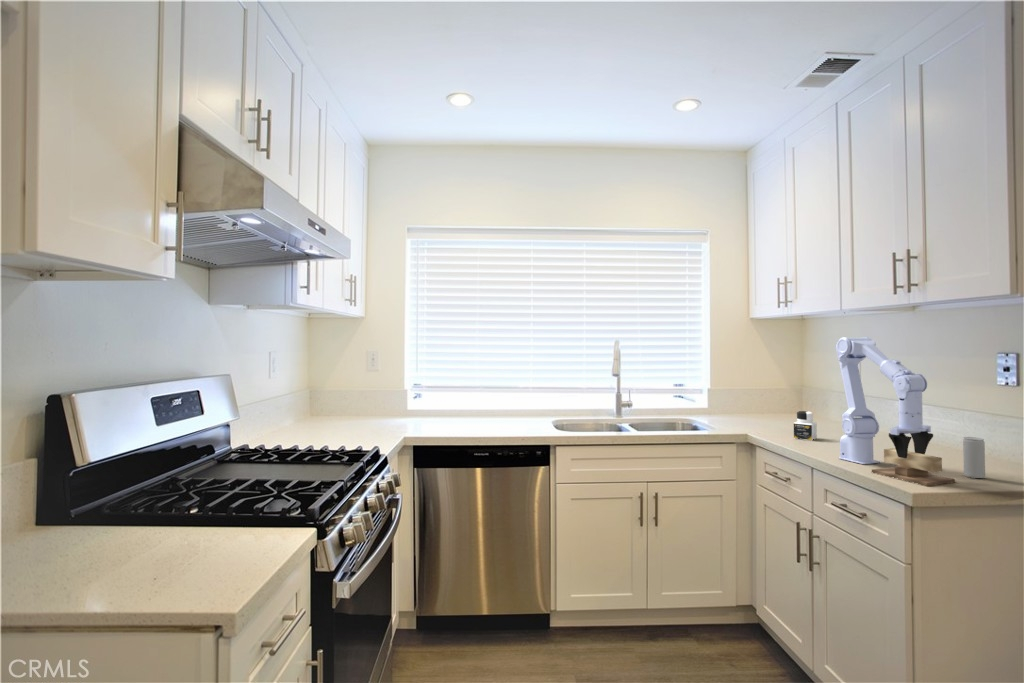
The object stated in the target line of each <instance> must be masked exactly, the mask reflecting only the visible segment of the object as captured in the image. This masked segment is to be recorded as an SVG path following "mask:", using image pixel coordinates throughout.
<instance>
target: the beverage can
mask: <svg viewBox="0 0 1024 683" xmlns="http://www.w3.org/2000/svg"><path fill="white" fill-rule="evenodd" d="M984 440H985V439H984V438H981V437H972V436H964V437H963V439H962V446H963V447H962V449H963V450H962V451H963V452H962V453H963V454H962V455H963V474H964V476H965V477H967V476H968V477H967V478H969V477H972V478H971V479H975V478H983V479H985V477H986V452H985V450H986V448H985V446H986V445H985V444H986V443H985V442H986V441H984Z"/></svg>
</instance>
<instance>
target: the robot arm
mask: <svg viewBox="0 0 1024 683" xmlns="http://www.w3.org/2000/svg"><path fill="white" fill-rule="evenodd" d="M876 345H877V344H876V341H874V340H873V339H872V338H871V337H869V336H864V337H862V336H861V337H846V336H843V337H840V338H839V340H838V341H837V343H836V345H835V350H836V356H837V359H838V363H839V368H840V373H841V378H842V384H843V388H844V393H845V398H846V404H847V408H848V409H846V411H845V412H843V413H842V415H841V417H842V422H841V429H842V431H843V432H844V434H843V435H842V436H841V437H840V440H839V457H838V459H840V460H844V461H847V462H853V463H857V464H861V465H870V464H879V462H880V463H881V461H880V460H876V459H874V438H876V435H877V434H878V433H879V431H880V424H879V422H878V420H877V418H876V415H875V413H874V411H872V410H870V409H869V408H868V407H867V403H866V399H865V394H864V389H863V384H862V378H861V375H860V370H859V364H860V363H861V362H862V361H863V360H865V359H866V358H868V359H869V360H870V361H872V362H873V363H875V364H876V365H877V366H879V371H880V372H881V374H882V375H884V376H885V377H886V378H887V379H888V380H890V381H891V383H892V386H893V389H894V390H895V392H896V397H897V398H898V425H897V426H894V427H890V432H889V433H888V437H889V439H890V441H891V442H892V443H893V446H894V449H896V452H897V455H898V457H901V458H907V454H908V451H909V445H910V442H911V440H912V441H913V448H914V452H915V453H920V454H925V455H926V451H927V448H928V445H929V444H930V441H931V440H932V439H933V438H934V434H933V433H931V432H932V429H931V425H925V424H923V393H924V392H925V391H926V390H927V388H928V381H927V378H926V377H925V376H924V375H923V374H921V373H915V372H912V370H911V369H908V368H907V367H906V366H904V364H902V362H901V361H900V360H899V359H890V358H889V357H888V356H887V355H886V354H885V353H884V352H883V351H881V349H879V348H878V347H877V346H876ZM907 434H909V435H910V436H909V435H908V436H907Z"/></svg>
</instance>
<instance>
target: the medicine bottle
mask: <svg viewBox="0 0 1024 683" xmlns="http://www.w3.org/2000/svg"><path fill="white" fill-rule="evenodd" d="M813 413H814V412H812V411H809V410H808V411H806V410H800V411H797V412H796V421H795V422H793V439H794V438H800V439H799V440H801V439H807V440H806V441H809V440H812V441H814V440H816V438H817V439H818V434H817V432H818V429H817V425H818V424H817V422H816V421H814V414H813ZM813 439H814V440H813Z"/></svg>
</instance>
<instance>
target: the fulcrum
mask: <svg viewBox="0 0 1024 683" xmlns="http://www.w3.org/2000/svg"><path fill="white" fill-rule="evenodd" d="M872 472H873V473H872ZM871 473H872V474H875V473H877V474H876V475H879V474H881V475H880V476H883V475H885V476H884V477H887V476H889V477H888V478H891V477H894V478H893V479H895V478H898V479H897V480H899V479H903V480H906V481H905V482H907V481H910V482H909V483H911V482H914V483H913V484H915V483H918V484H917V485H919V484H921V485H920V486H923V485H925V487H930V486H929V485H932V486H936V485H935V484H940V485H944V484H943V483H947V484H952V483H951V482H954V483H956V479H955V478H953V477H948V476H943V475H938V474H935V473H931V472H929V471H924V470H920V469H915V468H911V467H906V466H902V465H895V466H891V467H883V468H873V469H871ZM903 480H902V481H903Z"/></svg>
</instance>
